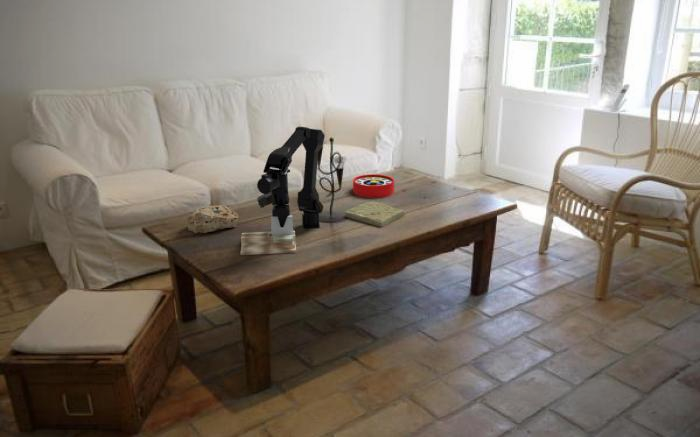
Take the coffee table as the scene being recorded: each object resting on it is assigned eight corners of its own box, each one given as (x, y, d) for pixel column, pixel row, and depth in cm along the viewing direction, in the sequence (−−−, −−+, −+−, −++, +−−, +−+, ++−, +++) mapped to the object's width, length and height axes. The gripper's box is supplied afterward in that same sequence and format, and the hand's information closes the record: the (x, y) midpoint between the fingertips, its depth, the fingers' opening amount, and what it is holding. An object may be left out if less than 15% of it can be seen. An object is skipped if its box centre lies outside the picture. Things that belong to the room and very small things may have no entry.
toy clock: (374, 172, 291) (403, 180, 277) (374, 183, 293) (402, 192, 279) (344, 179, 278) (373, 188, 264) (344, 191, 280) (373, 200, 266)
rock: (228, 218, 247) (230, 198, 242) (241, 236, 237) (245, 215, 232) (181, 223, 235) (183, 202, 230) (193, 242, 225) (196, 220, 220)
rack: (295, 237, 223) (294, 228, 222) (296, 252, 210) (295, 242, 209) (243, 240, 221) (242, 230, 220) (240, 255, 208) (239, 244, 207)
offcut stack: (294, 243, 215) (294, 234, 214) (295, 248, 211) (294, 239, 210) (270, 245, 214) (270, 236, 213) (270, 249, 211) (269, 240, 209)
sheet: (293, 239, 219) (292, 215, 215) (293, 241, 217) (292, 216, 214) (272, 240, 218) (270, 216, 215) (272, 242, 217) (270, 217, 213)
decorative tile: (381, 228, 234) (381, 220, 233) (344, 217, 246) (343, 209, 245) (407, 216, 247) (407, 208, 246) (370, 206, 259) (370, 199, 258)
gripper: (258, 180, 218) (261, 218, 224) (256, 195, 201) (259, 236, 206) (288, 179, 219) (289, 217, 225) (288, 194, 202) (290, 235, 207)
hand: (282, 226), depth 216 cm, fingers closed on sheet, 2 cm apart
